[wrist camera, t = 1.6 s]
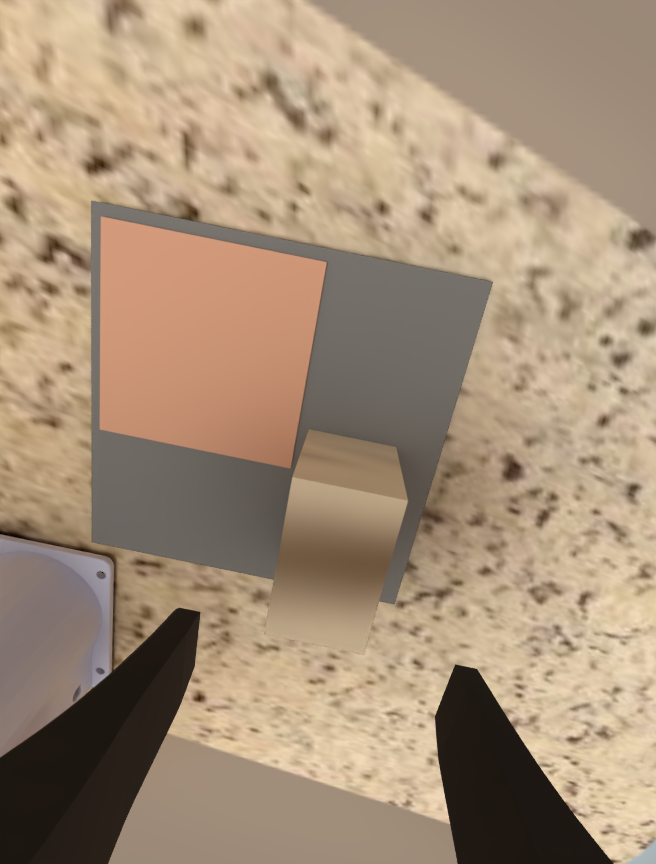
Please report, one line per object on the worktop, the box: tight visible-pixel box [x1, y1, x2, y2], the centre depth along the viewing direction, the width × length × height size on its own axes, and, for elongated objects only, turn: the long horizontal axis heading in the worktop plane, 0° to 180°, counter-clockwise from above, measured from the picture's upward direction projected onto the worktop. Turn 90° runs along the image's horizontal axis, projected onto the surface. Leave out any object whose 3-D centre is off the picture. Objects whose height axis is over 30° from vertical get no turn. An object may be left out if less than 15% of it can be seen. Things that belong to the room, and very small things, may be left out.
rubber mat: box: [91, 201, 493, 604], centre depth 19 cm, size 16×16×1 cm
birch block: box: [264, 429, 408, 655], centre depth 18 cm, size 7×4×5 cm, turn 169°
